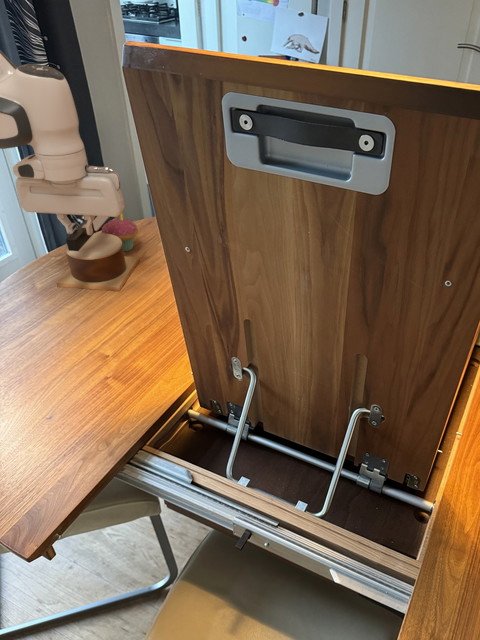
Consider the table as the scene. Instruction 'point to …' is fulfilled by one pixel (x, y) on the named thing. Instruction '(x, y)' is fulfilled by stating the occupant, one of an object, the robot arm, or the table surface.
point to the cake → (98, 264)
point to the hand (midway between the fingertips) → (80, 233)
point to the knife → (79, 239)
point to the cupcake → (122, 231)
